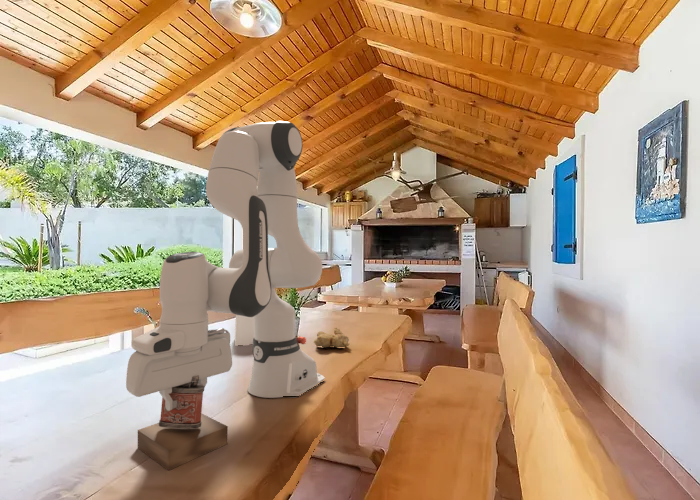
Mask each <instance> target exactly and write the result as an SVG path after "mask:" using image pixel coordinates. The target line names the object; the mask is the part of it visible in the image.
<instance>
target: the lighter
mask: <svg viewBox="0 0 700 500" xmlns="http://www.w3.org/2000/svg"><path fill="white" fill-rule="evenodd" d="M198 381H199V375H198V376H193V377H192V380H191V382H190V383H186V384H183V385H179V386H176V387H172V393H170V394H169V395H170V397H171V398H172V399H176V400H177V408H176V409H173V410H170V411H168V410H166V408H165V400H164V398H163V397H162V396H161V398H162V399H161V409H160V418H159V420H158V421H159V422H158V423H159V426H160V427H165V428H174V429H196V428H199V427H201V423H202V421H201V413H202V411H203V397H204V396H203V395H204V391H205V388H204V386H202V385H197V384H198Z"/></svg>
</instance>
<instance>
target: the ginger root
mask: <svg viewBox="0 0 700 500" xmlns="http://www.w3.org/2000/svg"><path fill="white" fill-rule="evenodd" d="M333 333H334V334H331V333H327V332H325V331H317V333H316V336H317V338H315V339H314V341H313V343H314V345H315V346H316V347H317V346H322V347H325V348H331V347H330V346H334V347H345V346H346V347H349V346H350V343H349V342H350V338H349V336H348V335H345V334H344V333H343V332H342V331H341V330H340V328H337V327H334V328H333ZM334 347H333V348H334ZM346 347H345V348H346Z"/></svg>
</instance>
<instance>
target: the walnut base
mask: <svg viewBox="0 0 700 500" xmlns="http://www.w3.org/2000/svg"><path fill="white" fill-rule="evenodd" d="M201 421H202V423H201V427H199V428H196V429H174V428H165V427H160V426H159V422H157V423H154V424H151V425H148V426H145V427H142V428H140V429H137V449H138V450H140V451H141V452H143V453H144V454H145V455H146V456H147V457H149V458H151V459H152V460H154V462H156V463H157V464H159V465H160V466H162V467H163V468H164V469H166V471H170V470H172V469H175V468H176V467H179V466H181V465H184V464H186V463H188V462H191V461H192V460H195V459H197V458H200V457H201V456H204V455H207V454H208V453H211V452H213V451H215V450H217V449H219V448H221V447H224V446H226V445H227V444H228V442H229V441H228V435H229V434H228V433H229V430H228V426H227V425H226V424H224V423H222V422H220V421H217V420H216V419H214V418H212V417H209V416H208V415H207V414H206V415H205V414H203V413H202V412H201Z"/></svg>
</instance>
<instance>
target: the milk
mask: <svg viewBox="0 0 700 500" xmlns="http://www.w3.org/2000/svg"><path fill="white" fill-rule="evenodd" d="M234 325H235V327H234V328H235V329H234V330H235V331H234V345H235V346H236V347H239V346H238V345H243V346H250V345H249V344H253V338H254V337H255V324H254V317H246V316H241V315H236V314H235V324H234Z"/></svg>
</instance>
